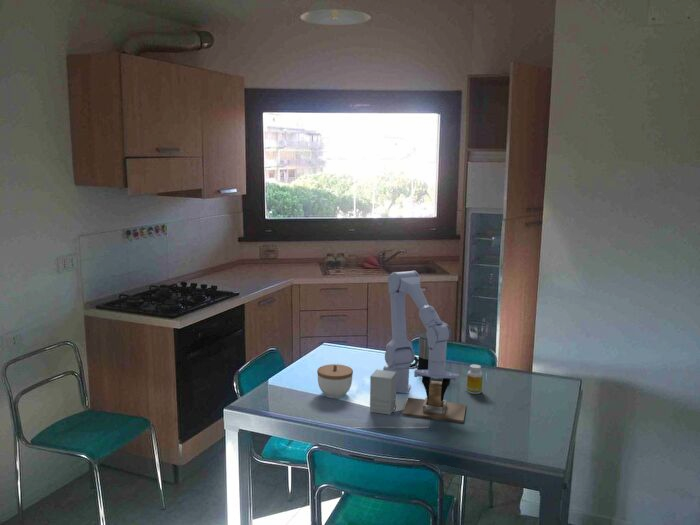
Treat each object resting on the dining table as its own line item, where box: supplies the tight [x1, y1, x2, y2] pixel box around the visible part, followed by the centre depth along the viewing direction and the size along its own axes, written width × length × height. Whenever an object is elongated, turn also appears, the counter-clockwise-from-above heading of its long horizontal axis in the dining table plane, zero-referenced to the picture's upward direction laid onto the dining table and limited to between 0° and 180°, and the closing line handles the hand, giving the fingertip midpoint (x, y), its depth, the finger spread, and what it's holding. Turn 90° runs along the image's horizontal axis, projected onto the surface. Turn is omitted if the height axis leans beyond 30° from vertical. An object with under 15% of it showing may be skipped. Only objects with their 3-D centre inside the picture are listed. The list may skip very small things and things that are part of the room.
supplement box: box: [369, 369, 397, 415], centre depth 204 cm, size 7×7×13 cm
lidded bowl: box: [316, 363, 354, 399], centre depth 216 cm, size 13×13×11 cm
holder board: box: [401, 397, 467, 424], centre depth 205 cm, size 20×14×3 cm
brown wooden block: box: [428, 380, 442, 407], centre depth 204 cm, size 4×4×8 cm
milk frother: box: [409, 331, 429, 370], centre depth 245 cm, size 14×16×15 cm
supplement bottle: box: [466, 364, 483, 395], centre depth 222 cm, size 5×5×10 cm
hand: (435, 398), depth 204 cm, fingers closed on brown wooden block, 4 cm apart
